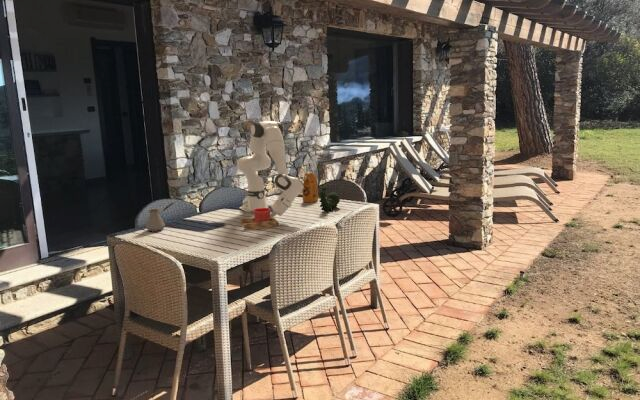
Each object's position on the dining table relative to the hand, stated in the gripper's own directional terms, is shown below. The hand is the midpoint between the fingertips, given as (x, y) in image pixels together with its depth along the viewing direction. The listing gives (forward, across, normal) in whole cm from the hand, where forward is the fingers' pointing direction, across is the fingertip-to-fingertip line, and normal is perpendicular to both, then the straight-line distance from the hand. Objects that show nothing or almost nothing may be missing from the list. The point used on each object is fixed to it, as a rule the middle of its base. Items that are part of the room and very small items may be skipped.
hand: (270, 217), depth 314 cm
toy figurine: (-29, -23, +36) cm, 52 cm away
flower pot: (+7, 0, 0) cm, 7 cm away
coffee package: (-26, -58, +32) cm, 71 cm away
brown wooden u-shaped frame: (+9, 0, -3) cm, 9 cm away
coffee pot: (+50, -20, -44) cm, 69 cm away
